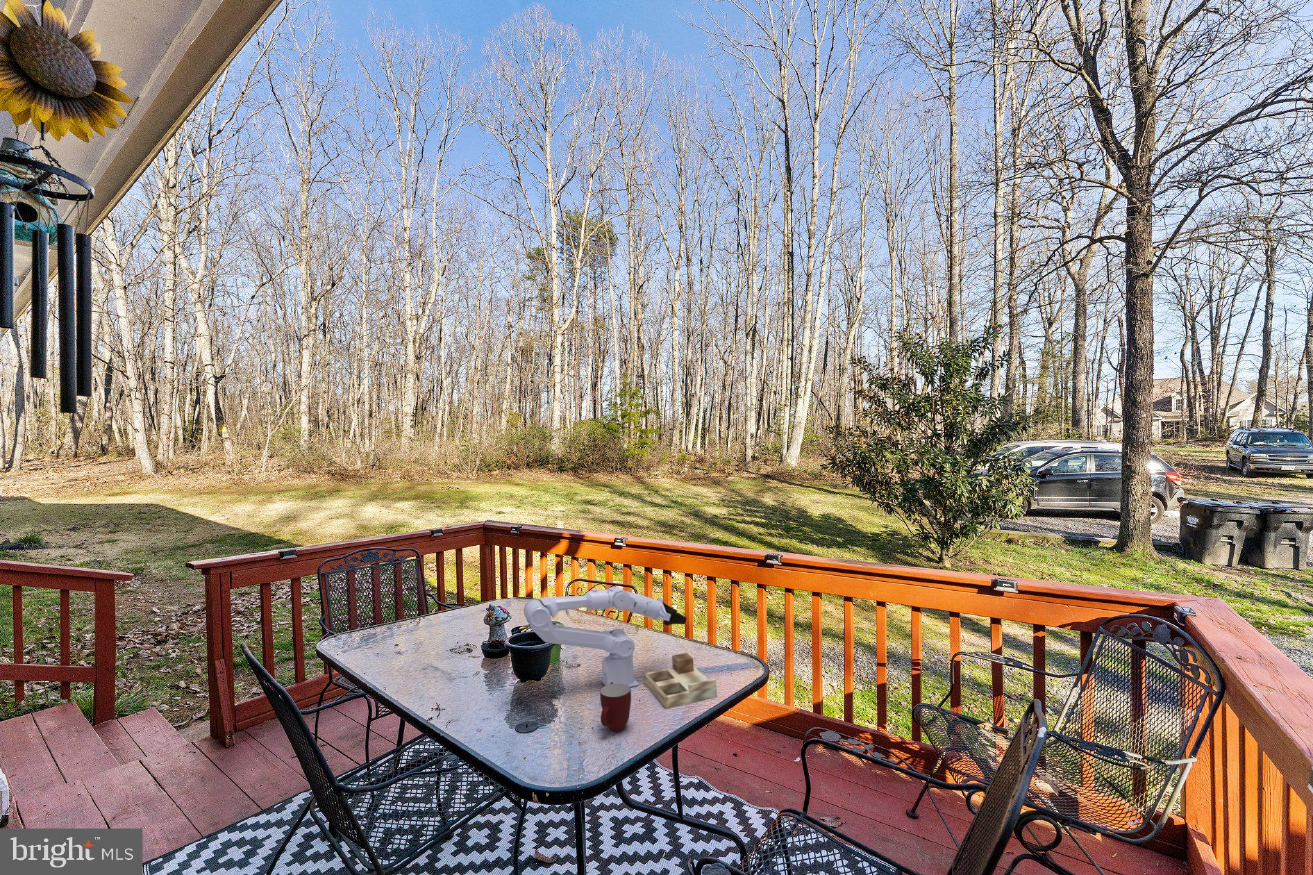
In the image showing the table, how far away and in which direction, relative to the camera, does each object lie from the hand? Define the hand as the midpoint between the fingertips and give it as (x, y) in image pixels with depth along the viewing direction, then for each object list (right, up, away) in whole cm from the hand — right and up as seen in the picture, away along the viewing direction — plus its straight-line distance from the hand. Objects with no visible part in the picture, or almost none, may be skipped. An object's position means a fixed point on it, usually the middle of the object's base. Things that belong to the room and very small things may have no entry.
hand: (680, 617), depth 183 cm
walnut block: (+1, -14, -7) cm, 16 cm away
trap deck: (-1, -17, -14) cm, 22 cm away
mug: (-19, -18, -36) cm, 44 cm away
